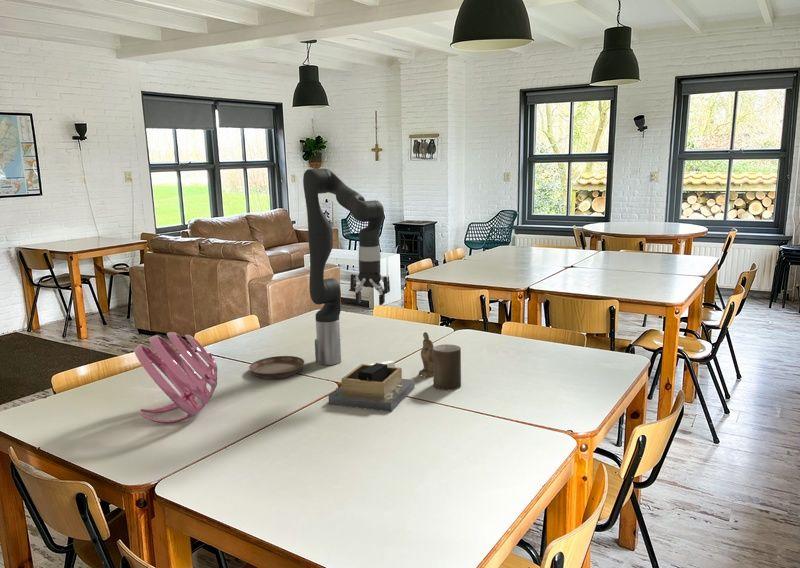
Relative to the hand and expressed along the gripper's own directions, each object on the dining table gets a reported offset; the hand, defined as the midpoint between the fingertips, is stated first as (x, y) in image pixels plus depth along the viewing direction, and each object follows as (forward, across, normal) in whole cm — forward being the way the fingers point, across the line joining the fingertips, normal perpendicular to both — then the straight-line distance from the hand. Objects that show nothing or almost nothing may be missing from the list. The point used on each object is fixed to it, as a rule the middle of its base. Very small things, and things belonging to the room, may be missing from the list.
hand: (370, 303), depth 223 cm
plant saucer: (+30, -38, -3) cm, 48 cm away
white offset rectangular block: (+29, +1, +4) cm, 29 cm away
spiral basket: (+29, -44, -49) cm, 72 cm away
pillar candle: (+28, +28, +2) cm, 40 cm away
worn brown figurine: (+28, +19, +14) cm, 37 cm away
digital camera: (+25, +7, -15) cm, 30 cm away
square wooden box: (+28, +7, -15) cm, 32 cm away
